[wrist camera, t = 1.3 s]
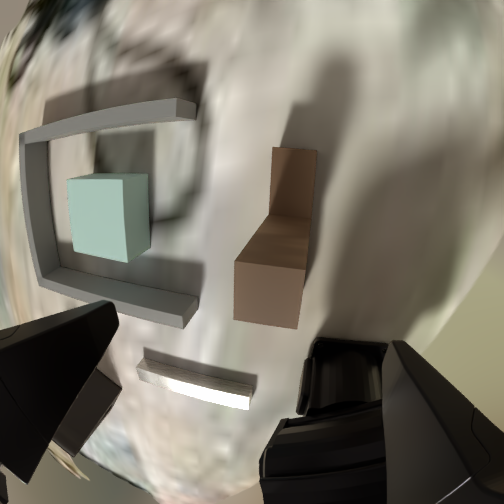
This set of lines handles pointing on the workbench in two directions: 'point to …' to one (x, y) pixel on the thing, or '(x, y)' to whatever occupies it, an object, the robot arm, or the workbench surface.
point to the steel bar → (195, 384)
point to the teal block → (109, 215)
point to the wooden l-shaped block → (278, 245)
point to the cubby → (41, 225)
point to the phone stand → (86, 412)
